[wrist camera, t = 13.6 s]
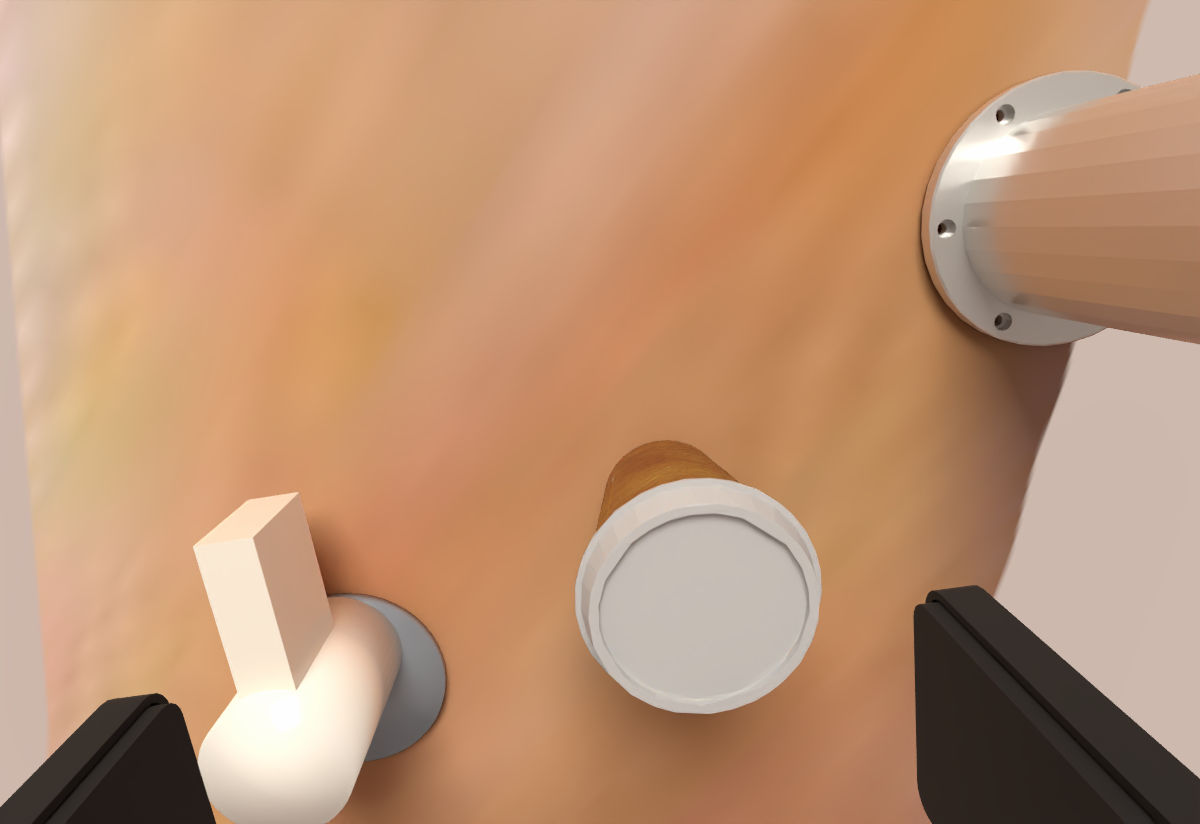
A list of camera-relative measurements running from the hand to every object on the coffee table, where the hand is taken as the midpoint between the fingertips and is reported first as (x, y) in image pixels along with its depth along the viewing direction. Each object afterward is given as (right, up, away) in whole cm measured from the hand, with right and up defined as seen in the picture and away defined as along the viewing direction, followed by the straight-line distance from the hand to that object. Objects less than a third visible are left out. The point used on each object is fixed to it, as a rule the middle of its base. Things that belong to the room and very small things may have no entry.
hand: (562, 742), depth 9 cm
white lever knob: (-14, -5, +29) cm, 33 cm away
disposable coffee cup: (+4, 0, +30) cm, 30 cm away
